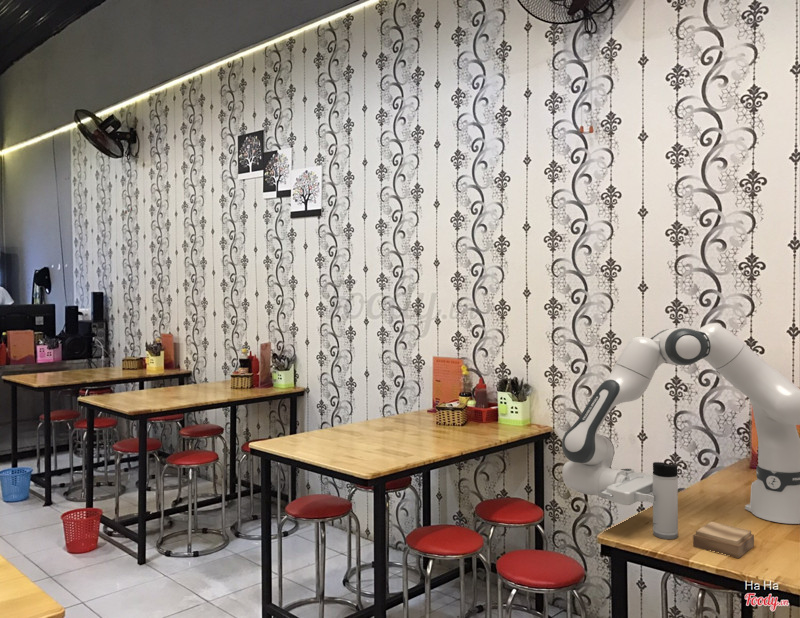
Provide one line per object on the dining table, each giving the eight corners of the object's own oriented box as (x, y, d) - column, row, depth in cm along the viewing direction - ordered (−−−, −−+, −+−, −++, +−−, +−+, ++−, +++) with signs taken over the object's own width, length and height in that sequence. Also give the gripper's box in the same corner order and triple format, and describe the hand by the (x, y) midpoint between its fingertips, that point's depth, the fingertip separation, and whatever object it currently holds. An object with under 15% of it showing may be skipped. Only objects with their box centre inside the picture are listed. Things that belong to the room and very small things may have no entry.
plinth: (709, 535, 176) (709, 520, 176) (753, 546, 168) (753, 530, 168) (693, 546, 168) (693, 531, 168) (738, 558, 160) (738, 542, 160)
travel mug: (648, 535, 176) (648, 462, 176) (659, 529, 181) (658, 457, 180) (671, 541, 172) (671, 466, 171) (681, 535, 176) (681, 461, 176)
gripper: (596, 481, 179) (644, 492, 169) (631, 467, 193) (678, 475, 183) (596, 504, 179) (644, 516, 169) (632, 488, 194) (678, 498, 184)
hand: (662, 495), depth 177 cm, fingers open, 8 cm apart
